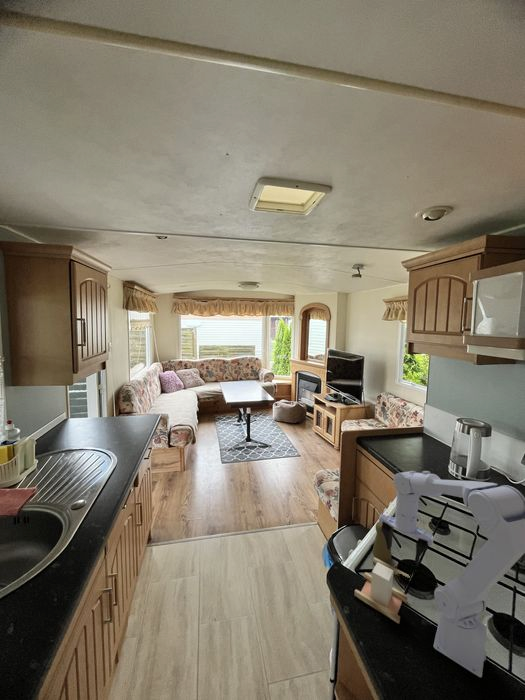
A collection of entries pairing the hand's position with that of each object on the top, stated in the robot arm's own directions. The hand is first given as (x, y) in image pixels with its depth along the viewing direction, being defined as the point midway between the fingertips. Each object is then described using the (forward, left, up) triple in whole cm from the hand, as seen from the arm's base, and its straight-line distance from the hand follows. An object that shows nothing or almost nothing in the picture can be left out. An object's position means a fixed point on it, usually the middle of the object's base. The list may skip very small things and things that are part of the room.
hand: (402, 554), depth 88 cm
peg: (+3, +9, -9) cm, 13 cm away
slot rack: (+3, +5, -9) cm, 11 cm away
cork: (+8, -8, -10) cm, 15 cm away
